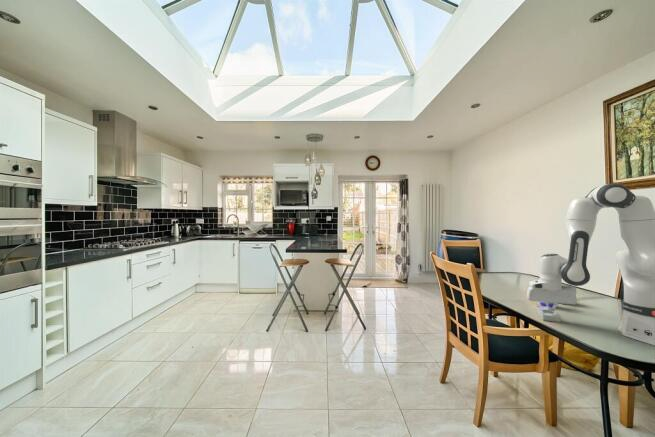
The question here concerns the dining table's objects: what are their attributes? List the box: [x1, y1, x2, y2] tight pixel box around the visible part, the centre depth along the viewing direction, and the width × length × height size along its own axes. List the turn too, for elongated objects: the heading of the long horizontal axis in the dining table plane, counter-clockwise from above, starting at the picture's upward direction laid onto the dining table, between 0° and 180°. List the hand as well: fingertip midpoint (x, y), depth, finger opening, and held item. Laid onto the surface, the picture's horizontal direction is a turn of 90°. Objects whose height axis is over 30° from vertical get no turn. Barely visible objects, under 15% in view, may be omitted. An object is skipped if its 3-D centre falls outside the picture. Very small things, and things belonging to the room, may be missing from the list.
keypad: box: [532, 304, 561, 323], centre depth 142 cm, size 17×7×3 cm, turn 156°
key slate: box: [540, 307, 552, 313], centre depth 142 cm, size 4×4×2 cm
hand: (551, 310), depth 138 cm, fingers closed
